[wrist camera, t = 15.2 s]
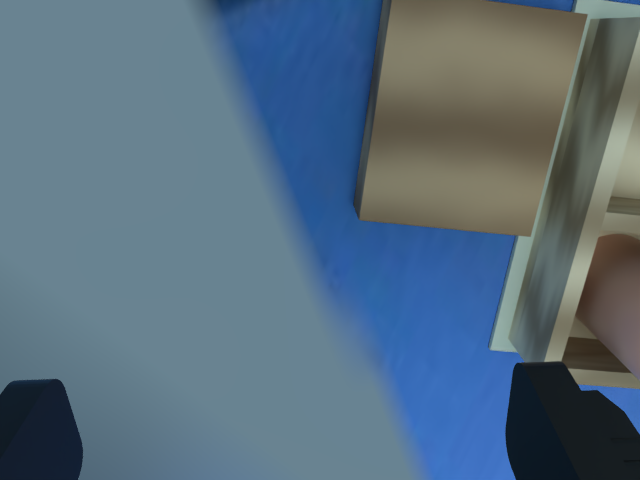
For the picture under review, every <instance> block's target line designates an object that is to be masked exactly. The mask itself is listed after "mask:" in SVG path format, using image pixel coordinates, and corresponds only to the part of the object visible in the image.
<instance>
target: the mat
mask: <svg viewBox="0 0 640 480" xmlns="http://www.w3.org/2000/svg"><path fill="white" fill-rule="evenodd" d="M571 12H575V13H583V14H588V16H587V20H586V24H585V27H584V31H583V35H582V39H581V43H580V47H579V51H578V55H577V59H576V62H575V66H574V70H573V74H572V78H571V82H570V86H569V90H568V94H567V97H566V101H565V105H564V109H563V113H562V117H561V121H560V125H559V129H558V132H557V136H556V140H555V144H554V148H553V152H552V156H551V160H550V164H549V167H548V171H547V175H546V179H545V183H544V187H543V191H542V195H541V199H540V202H539V206H538V210H537V214H536V218H535V222H534V226H533V230H532V234H531V237H527V236H516V237H515V241H514V245H513V249H512V253H511V257H510V261H509V265H508V269H507V273H506V277H505V281H504V285H503V289H502V293H501V297H500V302H499V306H498V310H497V314H496V318H495V322H494V326H493V330H492V334H491V338H490V342H489V346H488V348H489V349H490V350H495V351H507V352H517V350H516V349H515V347H514V346H513V345H512V343H511V342H510V340H509V339H508V336H509V332H510V328H511V324H512V321H513V317H514V313H515V309H516V305H517V301H518V297H519V294H520V290H521V286H522V282H523V278H524V274H525V270H526V267H527V263H528V259H529V255H530V251H531V247H532V243H533V240H534V236H535V232H536V228H537V224H538V220H539V216H540V213H541V209H542V205H543V201H544V197H545V193H546V189H547V186H548V182H549V178H550V174H551V170H552V166H553V162H554V159H555V155H556V151H557V147H558V143H559V139H560V135H561V132H562V128H563V124H564V120H565V116H566V112H567V108H568V105H569V101H570V97H571V93H572V89H573V85H574V81H575V78H576V74H577V70H578V66H579V62H580V58H581V54H582V51H583V47H584V43H585V39H586V35H587V31H588V27H589V24H590V20H591V19H602V18H630V17H640V5H634V4H626V3H619V2H612V1H604V0H574V3H573V7H572V11H571Z"/></svg>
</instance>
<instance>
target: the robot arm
mask: <svg viewBox="0 0 640 480" xmlns="http://www.w3.org/2000/svg"><path fill="white" fill-rule="evenodd" d="M505 434H506V447H507V453H508V458H509V461H510V465H511V468H512V470H513V473H514V476H515V478H516V480H640V435H639V433H638V432H637V430H636V429H635V427H634V426H633V424H632V423H631V421H630V420H629V418H628V417H627V415H626V414H625V412H624V411H623V410H621V409H620V408H619V407H618V406H616V405H615V404H614V403H613V402H611V401H610V400H609V399H608V398H606V397H605V396H604V395H603V394H601V393H600V392H599V391H598V390H591V391H581V390H580V388H579V386H578V385H577V383H576V381H575V380H574V378H573V376H572V375H571V373H570V371H569V370H568V368H567V366H566V365H565V364H564V363H563V362H561V361H550V362H524V363H517V364H516V365H515V367H514V370H513V375H512V383H511V391H510V398H509V406H508V414H507V421H506V433H505ZM82 459H83V447H82V442H81V438H80V435H79V432H78V428H77V425H76V422H75V419H74V416H73V412H72V409H71V406H70V403H69V400H68V396H67V394H66V390H65V387H64V385H63V384H62V382H61V381H60V380H58V379H46V380H45V379H43V380H19V381H13V382H11V383H9V384H8V385H7V386H6V388H5V389H4V391H3V392H2V393H1V394H0V480H78V478H79V475H80V471H81V467H82Z"/></svg>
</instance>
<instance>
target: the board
mask: <svg viewBox="0 0 640 480" xmlns="http://www.w3.org/2000/svg"><path fill="white" fill-rule="evenodd" d="M587 16H588V14H583V13H575V12H568V11H560V10H553V9H545V8H538V7H531V6H523V5H516V4H508V3H501V2H493V1H486V0H383V3H382V10H381V17H380V23H379V30H378V37H377V44H376V51H375V58H374V65H373V72H372V79H371V86H370V93H369V100H368V107H367V114H366V121H365V128H364V135H363V142H362V149H361V156H360V163H359V170H358V177H357V184H356V191H355V198H354V208H355V210H356V213H357V216H358V218H359V220H362V221H373V222H383V223H393V224H403V225H414V226H424V227H434V228H444V229H455V230H465V231H475V232H485V233H496V234H506V235H516V236H527V237H531V234H532V230H533V226H534V222H535V218H536V214H537V210H538V206H539V202H540V199H541V195H542V191H543V187H544V183H545V179H546V175H547V171H548V167H549V164H550V160H551V156H552V152H553V148H554V144H555V140H556V136H557V132H558V129H559V125H560V121H561V117H562V113H563V109H564V105H565V101H566V97H567V94H568V90H569V86H570V82H571V78H572V74H573V70H574V66H575V62H576V59H577V55H578V51H579V47H580V43H581V39H582V35H583V31H584V27H585V24H586V20H587Z"/></svg>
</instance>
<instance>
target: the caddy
mask: <svg viewBox="0 0 640 480" xmlns="http://www.w3.org/2000/svg"><path fill="white" fill-rule="evenodd" d="M610 234H623V235H628V236H631V237H634V238H636V239H638V240H640V17H630V18H602V19H591V20H590V24H589V27H588V31H587V35H586V39H585V43H584V47H583V51H582V54H581V58H580V62H579V66H578V70H577V74H576V78H575V81H574V85H573V89H572V93H571V97H570V101H569V105H568V108H567V112H566V116H565V120H564V124H563V128H562V132H561V135H560V139H559V143H558V147H557V151H556V155H555V159H554V162H553V166H552V170H551V174H550V178H549V182H548V186H547V189H546V193H545V197H544V201H543V205H542V209H541V213H540V216H539V220H538V224H537V228H536V232H535V236H534V240H533V243H532V247H531V251H530V255H529V259H528V263H527V267H526V270H525V274H524V278H523V282H522V286H521V290H520V294H519V297H518V301H517V305H516V309H515V313H514V317H513V321H512V324H511V328H510V332H509V336H508V339H509V340H510V342H511V343H512V345H513V346H514V347H515V349H516V350H517V352H518V353H519V355H520V356H521V357H522V359H523V360H524V362H550V361H561V362H563V363H564V364H565V365H566V366H567V368H568V370H569V371H570V373H571V375H572V376H573V378H574V380H575V381H576V383H577V384H581V385H595V386H608V387H622V388H635V389H640V380H639V379H638V378H637V377H636V376H635V375H634V374H633V373H632V372H631V371H630V370H629V369H628V368H627V367H626V366H625V365H624V364H623V363H622V362H621V361H620V360H619V359H618V358H617V357H616V356H615V355H614V354H613V353H612V352H611V351H610V350H609V349H608V348H607V347H606V346H605V345H604V344H603V343H602V342H601V341H600V340H599V339H598V338H597V337H596V336H595V335H594V334H593V333H592V332H591V331H590V330H589V329H588V328H587V327H586V326H585V325H584V324H583V323H582V322H581V321H580V320H579V319H578V318H577V317H576V316H575V314H576V310H577V307H578V304H579V300H580V297H581V294H582V290H583V287H584V284H585V280H586V277H587V274H588V270H589V267H590V264H591V260H592V257H593V254H594V250H595V247H596V244H597V240H598V237H601V236H605V235H610Z"/></svg>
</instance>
